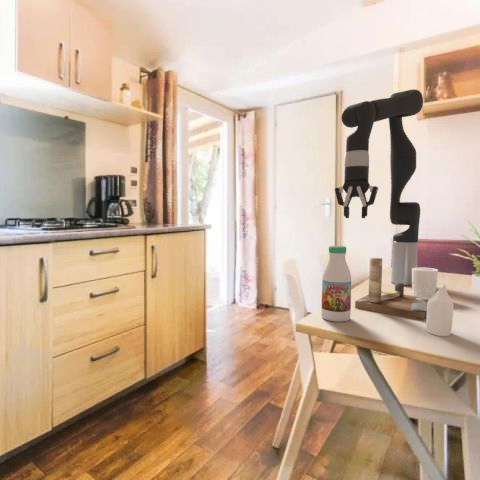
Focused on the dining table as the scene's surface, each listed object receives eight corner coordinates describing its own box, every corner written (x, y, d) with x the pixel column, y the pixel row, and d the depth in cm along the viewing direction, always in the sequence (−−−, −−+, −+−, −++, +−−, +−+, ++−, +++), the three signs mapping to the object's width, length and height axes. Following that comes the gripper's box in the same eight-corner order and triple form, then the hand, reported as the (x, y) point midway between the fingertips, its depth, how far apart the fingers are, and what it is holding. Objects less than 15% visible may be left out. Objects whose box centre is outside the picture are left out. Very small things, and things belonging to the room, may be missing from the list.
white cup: (440, 301, 113) (441, 271, 112) (414, 300, 114) (415, 270, 114) (431, 295, 121) (433, 267, 120) (407, 294, 122) (409, 266, 121)
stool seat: (376, 296, 120) (376, 289, 119) (438, 305, 107) (438, 299, 107) (355, 307, 105) (355, 300, 105) (423, 320, 93) (423, 312, 93)
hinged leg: (396, 294, 113) (398, 254, 112) (406, 296, 110) (408, 256, 109) (365, 300, 104) (367, 258, 103) (376, 303, 101) (377, 259, 100)
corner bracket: (406, 306, 99) (406, 299, 99) (421, 306, 99) (421, 300, 99) (411, 310, 95) (412, 303, 95) (427, 311, 95) (428, 304, 94)
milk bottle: (317, 314, 98) (319, 244, 97) (343, 313, 99) (345, 244, 97) (326, 322, 91) (328, 247, 89) (354, 322, 91) (357, 247, 90)
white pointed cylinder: (426, 280, 87) (451, 282, 85) (423, 327, 88) (448, 329, 86) (430, 285, 81) (457, 287, 79) (427, 334, 82) (454, 338, 80)
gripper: (382, 166, 112) (380, 218, 113) (338, 168, 120) (337, 217, 121) (377, 163, 106) (375, 218, 107) (331, 166, 113) (330, 218, 115)
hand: (355, 217), depth 114 cm, fingers open, 4 cm apart
